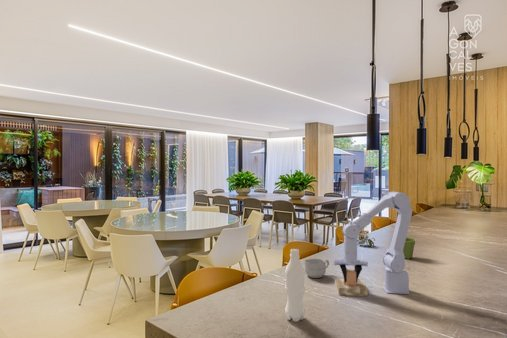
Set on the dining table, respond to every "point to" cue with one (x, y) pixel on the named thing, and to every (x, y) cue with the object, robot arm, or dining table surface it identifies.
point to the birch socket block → (351, 288)
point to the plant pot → (409, 247)
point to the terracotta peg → (350, 277)
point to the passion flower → (364, 239)
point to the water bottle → (294, 287)
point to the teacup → (316, 267)
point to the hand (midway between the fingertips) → (350, 281)
